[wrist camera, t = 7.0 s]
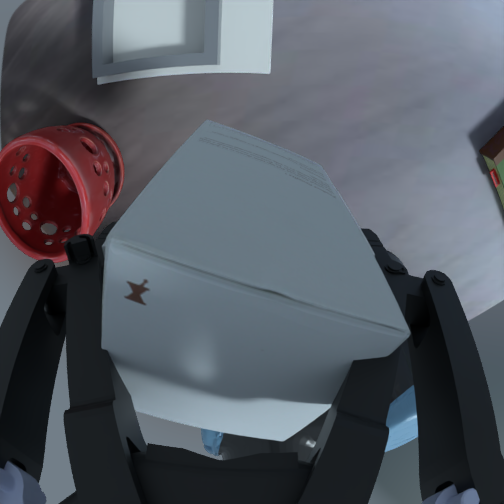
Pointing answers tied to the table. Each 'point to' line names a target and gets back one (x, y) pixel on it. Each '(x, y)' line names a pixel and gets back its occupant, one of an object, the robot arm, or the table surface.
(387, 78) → the table surface
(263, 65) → the plate
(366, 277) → the supplement box
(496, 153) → the hardcover book
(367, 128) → the table surface
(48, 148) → the plant pot
